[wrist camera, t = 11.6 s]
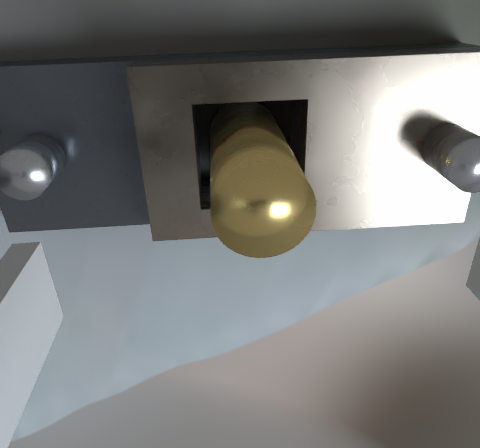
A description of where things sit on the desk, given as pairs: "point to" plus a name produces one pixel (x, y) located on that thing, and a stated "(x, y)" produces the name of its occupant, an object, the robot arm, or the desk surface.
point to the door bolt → (230, 91)
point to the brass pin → (256, 184)
